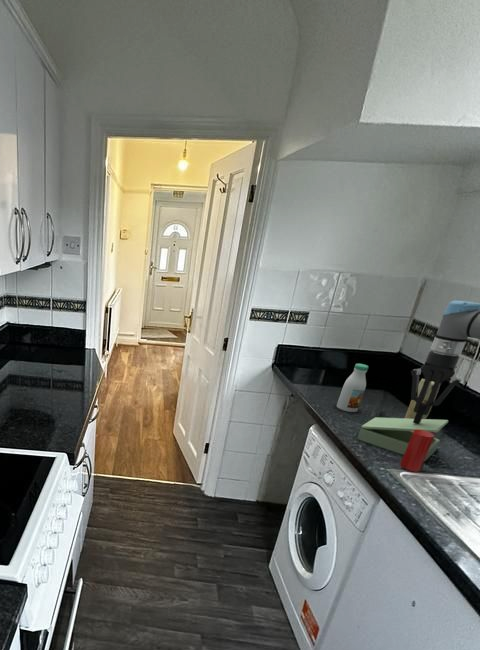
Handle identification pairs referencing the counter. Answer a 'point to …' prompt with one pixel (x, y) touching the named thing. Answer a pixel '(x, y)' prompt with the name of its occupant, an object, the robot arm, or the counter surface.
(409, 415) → the food model
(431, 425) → the lid
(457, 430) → the counter surface
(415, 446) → the tin
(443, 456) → the counter surface
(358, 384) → the milk bottle
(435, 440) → the green open box
